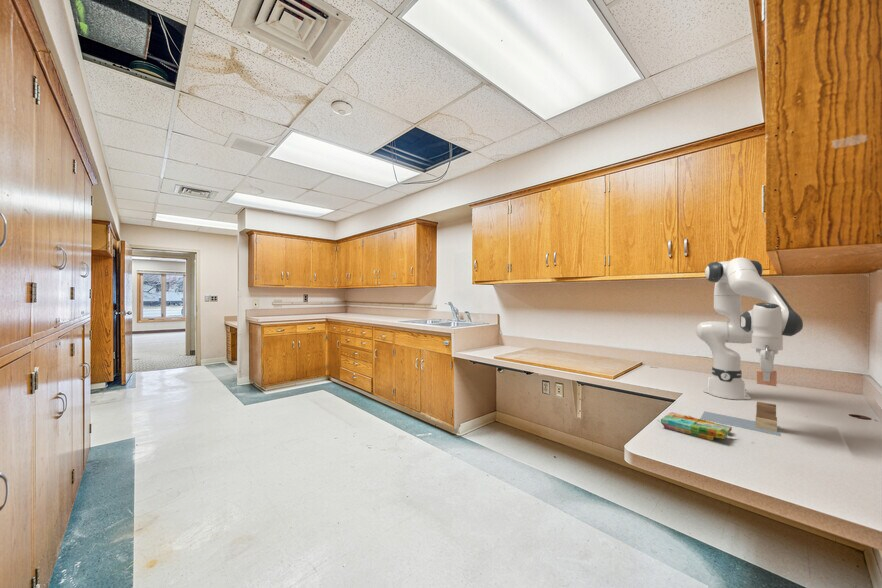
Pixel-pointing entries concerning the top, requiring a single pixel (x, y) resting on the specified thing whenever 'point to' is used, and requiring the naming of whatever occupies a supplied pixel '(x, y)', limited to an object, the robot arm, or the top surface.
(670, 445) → the top surface
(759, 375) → the terracotta block
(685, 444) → the top surface
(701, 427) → the puzzle game
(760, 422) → the oak brick
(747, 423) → the baseplate
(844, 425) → the top surface
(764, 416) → the walnut block
